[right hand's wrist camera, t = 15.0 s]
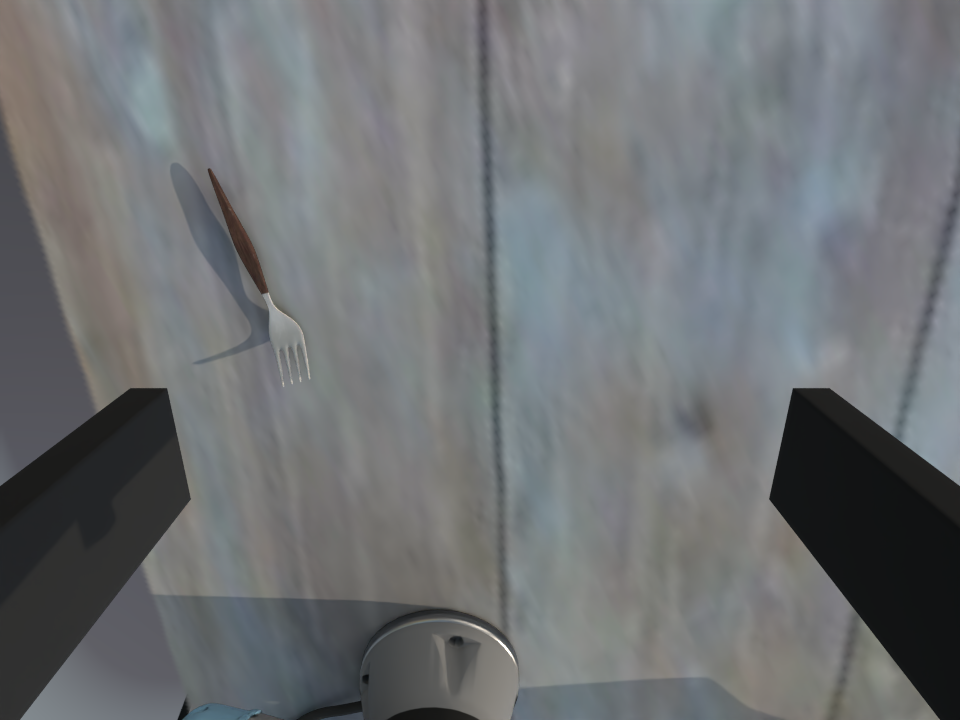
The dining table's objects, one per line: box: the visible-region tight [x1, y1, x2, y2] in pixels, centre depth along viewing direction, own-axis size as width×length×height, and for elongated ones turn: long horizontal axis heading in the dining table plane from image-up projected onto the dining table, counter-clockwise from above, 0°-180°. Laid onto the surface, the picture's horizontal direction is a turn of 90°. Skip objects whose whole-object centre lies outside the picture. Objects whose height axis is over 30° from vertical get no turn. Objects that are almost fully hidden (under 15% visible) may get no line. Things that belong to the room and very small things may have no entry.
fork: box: [208, 169, 310, 387], centre depth 42 cm, size 3×16×2 cm, turn 17°
